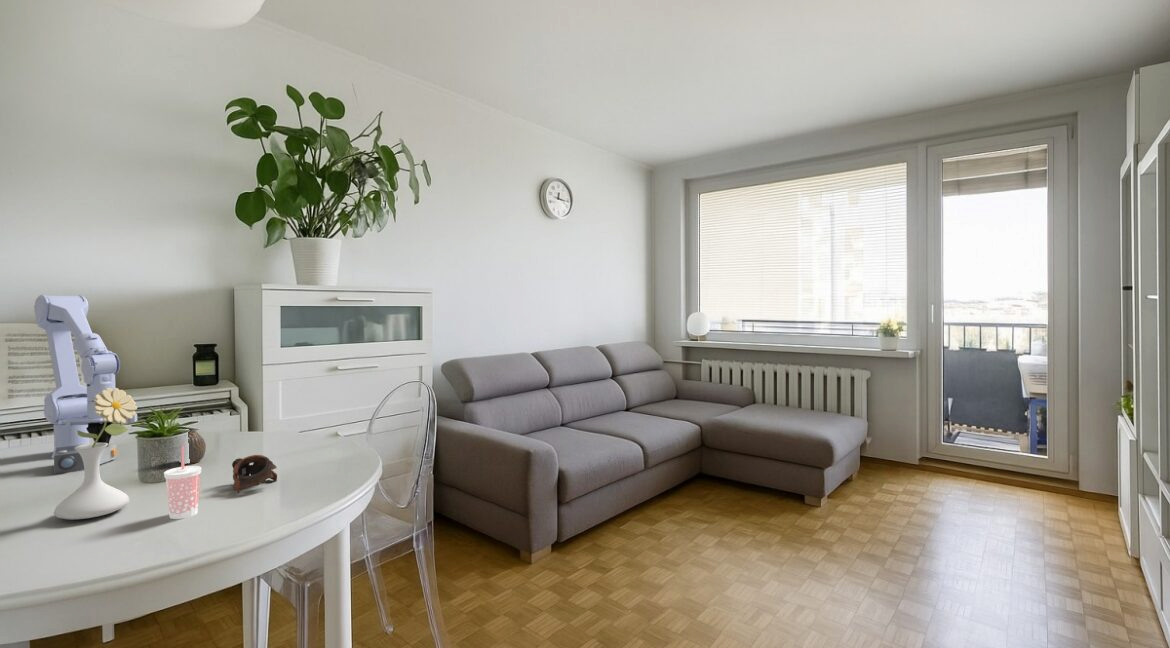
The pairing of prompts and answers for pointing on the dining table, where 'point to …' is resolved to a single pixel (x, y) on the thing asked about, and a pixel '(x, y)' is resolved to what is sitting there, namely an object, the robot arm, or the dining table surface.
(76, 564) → the dining table surface
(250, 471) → the brown curved piece
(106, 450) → the side door
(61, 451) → the camera body
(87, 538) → the dining table surface
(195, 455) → the brown ribbed ovoid
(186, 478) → the beverage cup
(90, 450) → the flower in vase
